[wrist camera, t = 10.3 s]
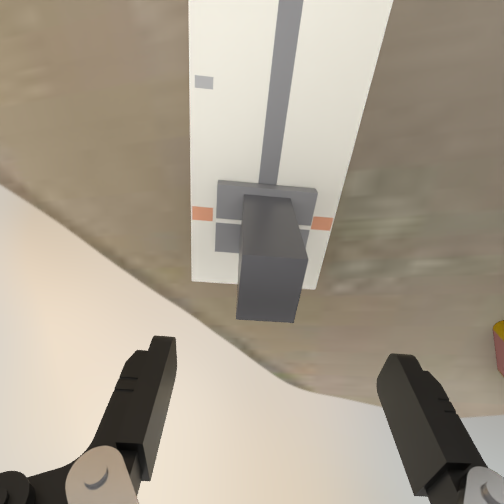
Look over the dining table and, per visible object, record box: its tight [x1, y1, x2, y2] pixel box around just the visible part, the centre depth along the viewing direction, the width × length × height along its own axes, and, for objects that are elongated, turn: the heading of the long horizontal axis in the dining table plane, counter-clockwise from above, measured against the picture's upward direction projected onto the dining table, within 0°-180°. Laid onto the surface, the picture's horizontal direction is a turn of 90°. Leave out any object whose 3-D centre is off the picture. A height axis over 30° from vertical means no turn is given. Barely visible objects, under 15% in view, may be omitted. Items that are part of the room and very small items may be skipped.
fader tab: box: [215, 180, 318, 323], centre depth 18 cm, size 6×5×8 cm
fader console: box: [189, 0, 393, 290], centre depth 18 cm, size 10×28×2 cm, turn 174°
